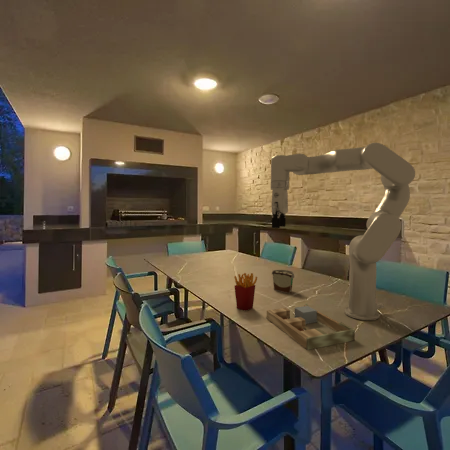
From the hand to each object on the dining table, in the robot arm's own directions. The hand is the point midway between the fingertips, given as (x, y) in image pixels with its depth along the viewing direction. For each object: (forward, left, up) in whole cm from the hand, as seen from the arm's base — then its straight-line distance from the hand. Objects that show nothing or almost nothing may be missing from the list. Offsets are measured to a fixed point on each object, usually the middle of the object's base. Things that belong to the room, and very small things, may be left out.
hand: (278, 227), depth 119 cm
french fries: (+13, -6, -35) cm, 37 cm away
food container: (-16, -21, -35) cm, 43 cm away
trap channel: (+1, +21, -35) cm, 41 cm away
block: (-3, +15, -35) cm, 38 cm away
